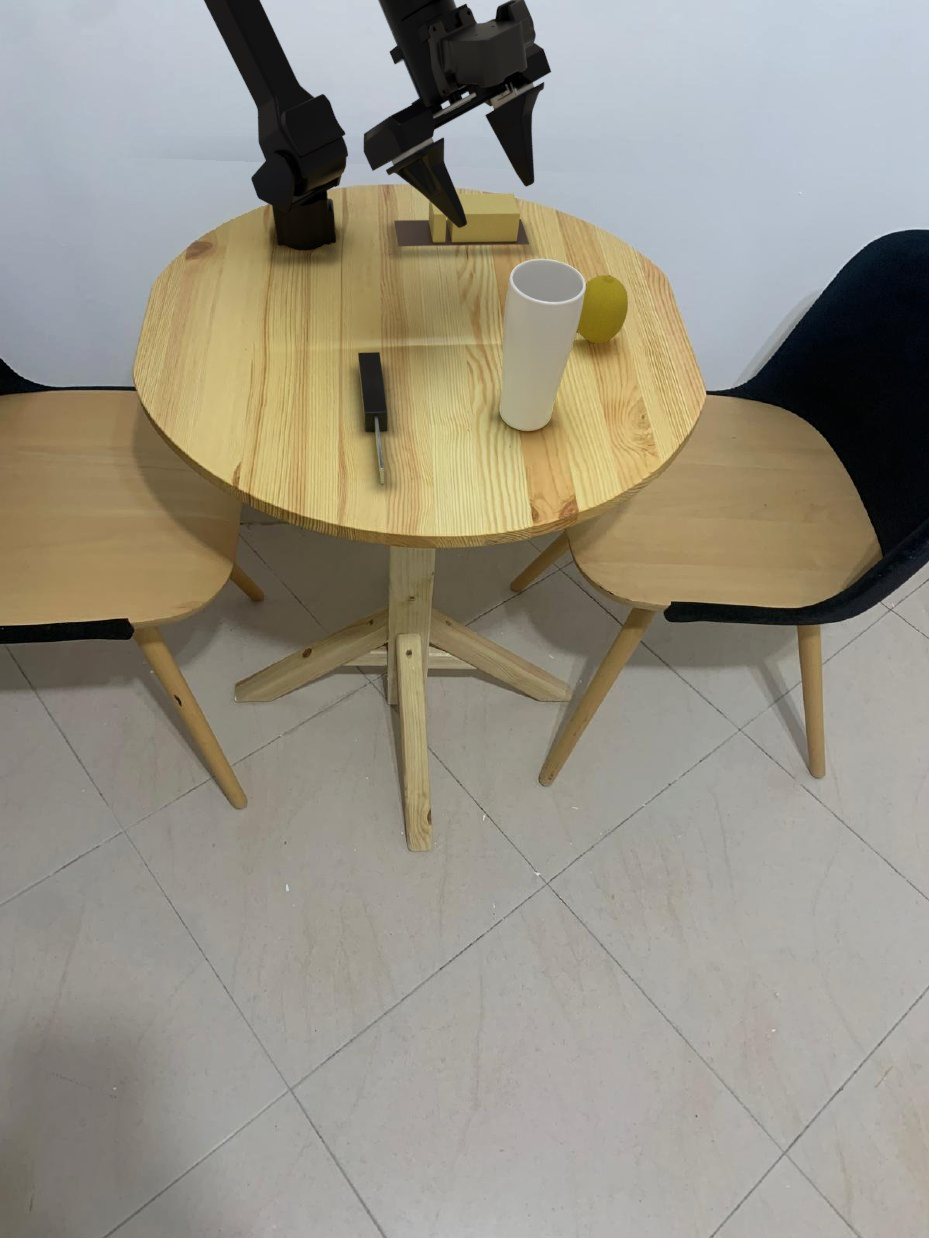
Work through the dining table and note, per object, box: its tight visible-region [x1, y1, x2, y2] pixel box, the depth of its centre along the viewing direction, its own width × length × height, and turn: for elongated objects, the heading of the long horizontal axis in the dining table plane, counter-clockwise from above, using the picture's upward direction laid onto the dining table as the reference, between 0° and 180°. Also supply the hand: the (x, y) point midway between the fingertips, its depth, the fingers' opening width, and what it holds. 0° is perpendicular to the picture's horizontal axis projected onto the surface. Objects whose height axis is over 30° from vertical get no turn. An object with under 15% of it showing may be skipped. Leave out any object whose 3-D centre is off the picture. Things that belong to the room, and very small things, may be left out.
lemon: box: [577, 274, 629, 344], centre depth 82 cm, size 6×6×8 cm
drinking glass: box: [498, 258, 587, 432], centre depth 72 cm, size 7×7×15 cm
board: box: [393, 218, 530, 247], centre depth 95 cm, size 16×6×1 cm, turn 98°
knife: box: [357, 351, 389, 485], centre depth 75 cm, size 2×16×2 cm, turn 8°
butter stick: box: [446, 192, 521, 242], centre depth 93 cm, size 8×4×4 cm, turn 98°
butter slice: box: [428, 200, 447, 243], centre depth 92 cm, size 2×4×4 cm, turn 8°
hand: (497, 205), depth 72 cm, fingers open, 9 cm apart
